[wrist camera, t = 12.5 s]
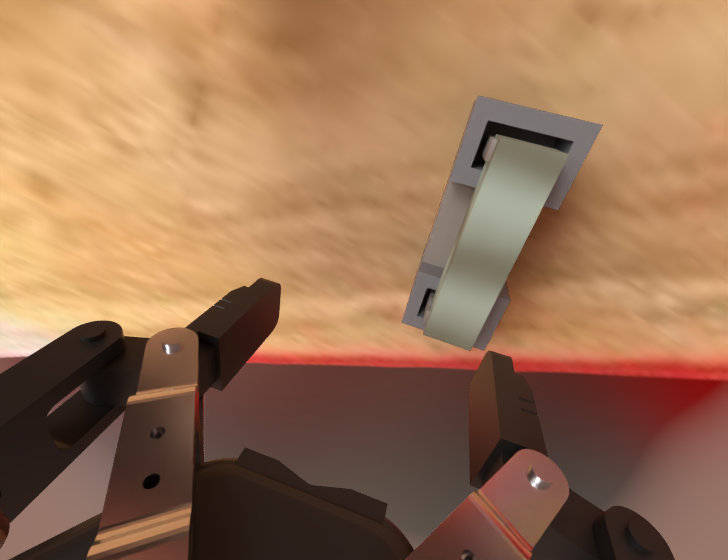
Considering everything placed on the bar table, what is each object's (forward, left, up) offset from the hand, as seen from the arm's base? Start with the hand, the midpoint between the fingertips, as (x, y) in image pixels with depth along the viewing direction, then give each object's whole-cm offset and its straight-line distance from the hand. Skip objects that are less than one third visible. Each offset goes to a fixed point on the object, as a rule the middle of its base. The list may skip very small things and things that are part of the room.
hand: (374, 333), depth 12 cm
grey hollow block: (0, +5, -23) cm, 24 cm away
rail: (0, +5, -16) cm, 17 cm away
